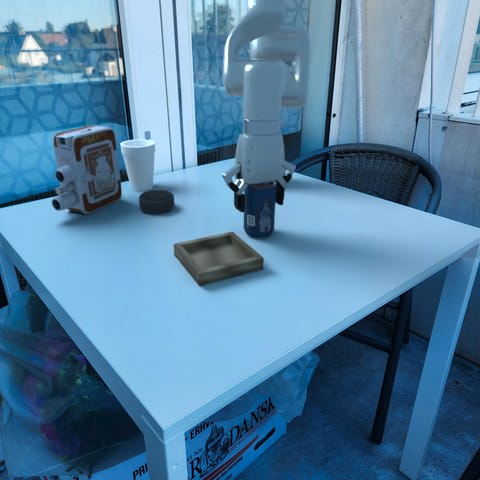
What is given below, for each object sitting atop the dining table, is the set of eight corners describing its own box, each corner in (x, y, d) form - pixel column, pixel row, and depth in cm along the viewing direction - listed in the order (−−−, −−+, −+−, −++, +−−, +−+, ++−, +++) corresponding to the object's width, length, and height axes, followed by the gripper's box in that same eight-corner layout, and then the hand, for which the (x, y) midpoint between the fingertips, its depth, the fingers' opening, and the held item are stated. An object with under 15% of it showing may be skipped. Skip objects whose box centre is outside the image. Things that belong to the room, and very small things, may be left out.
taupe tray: (232, 241, 93) (232, 231, 92) (263, 269, 82) (263, 257, 81) (174, 254, 88) (173, 243, 87) (199, 286, 77) (198, 274, 76)
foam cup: (132, 181, 130) (128, 138, 124) (162, 183, 129) (158, 140, 123) (120, 191, 122) (115, 146, 116) (152, 193, 120) (147, 148, 115)
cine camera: (44, 218, 104) (26, 136, 96) (101, 194, 120) (91, 121, 111) (71, 225, 101) (55, 140, 92) (127, 199, 116) (118, 125, 107)
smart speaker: (149, 201, 116) (148, 187, 114) (180, 204, 113) (179, 190, 112) (133, 213, 108) (132, 198, 106) (166, 217, 106) (164, 202, 104)
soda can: (254, 224, 102) (255, 176, 96) (279, 231, 98) (282, 181, 93) (237, 234, 96) (237, 184, 91) (263, 242, 93) (265, 190, 88)
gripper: (287, 121, 93) (283, 196, 100) (215, 127, 86) (216, 207, 93) (307, 127, 87) (301, 206, 94) (231, 134, 80) (231, 219, 87)
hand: (259, 206), depth 94 cm, fingers open, 9 cm apart
